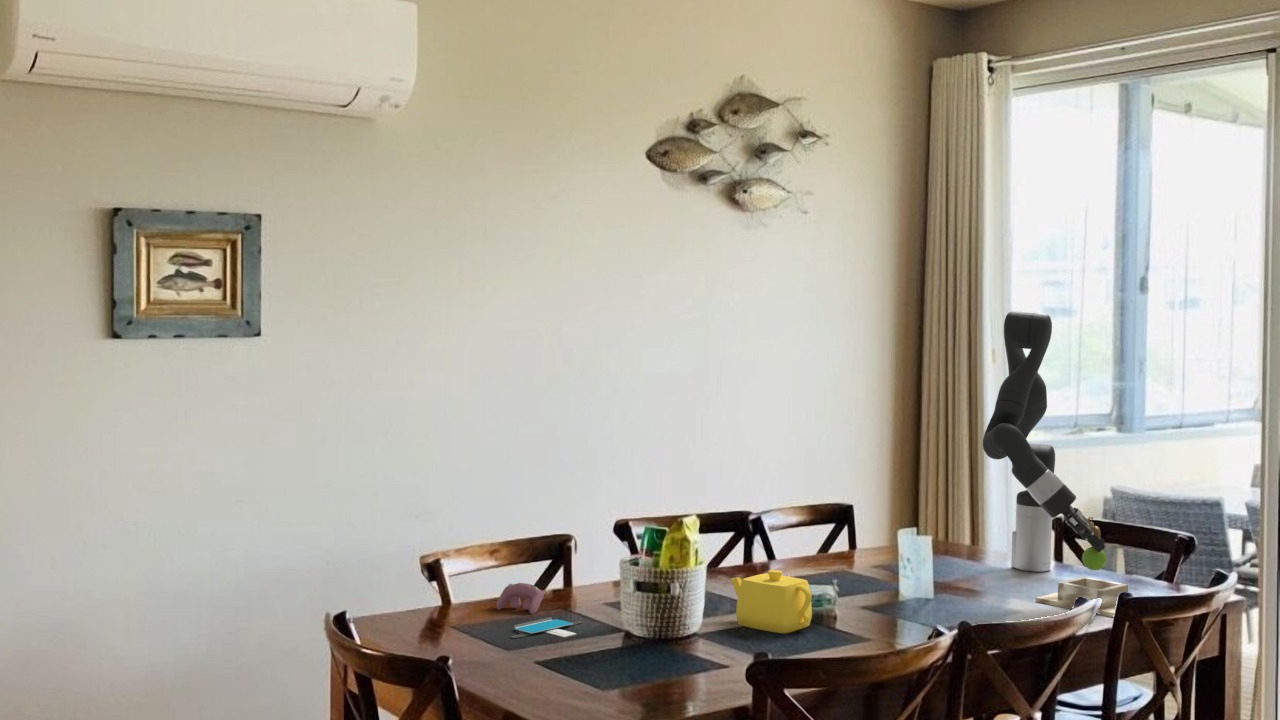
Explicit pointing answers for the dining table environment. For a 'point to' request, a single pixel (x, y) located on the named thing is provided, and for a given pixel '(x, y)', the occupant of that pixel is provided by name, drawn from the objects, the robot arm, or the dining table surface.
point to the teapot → (773, 602)
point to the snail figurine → (1094, 552)
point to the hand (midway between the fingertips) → (1101, 547)
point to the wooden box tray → (1086, 593)
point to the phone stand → (544, 627)
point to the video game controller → (521, 590)
